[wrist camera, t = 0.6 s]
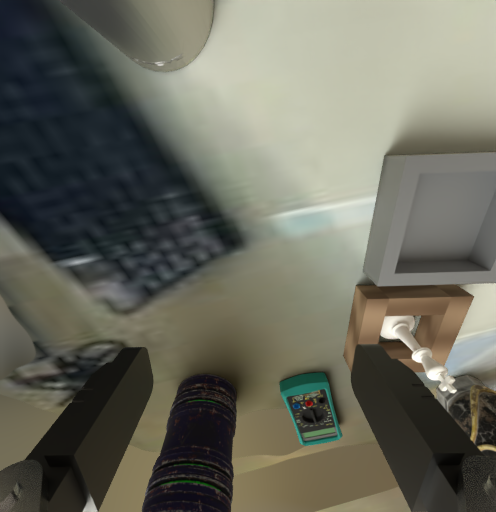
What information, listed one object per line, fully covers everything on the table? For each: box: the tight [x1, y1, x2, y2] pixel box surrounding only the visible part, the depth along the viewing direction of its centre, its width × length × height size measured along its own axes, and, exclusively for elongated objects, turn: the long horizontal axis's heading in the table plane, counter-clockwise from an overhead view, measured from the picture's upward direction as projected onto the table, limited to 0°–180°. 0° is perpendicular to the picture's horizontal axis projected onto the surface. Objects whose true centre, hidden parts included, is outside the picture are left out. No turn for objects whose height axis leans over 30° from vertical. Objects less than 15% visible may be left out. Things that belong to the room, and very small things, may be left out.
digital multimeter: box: [280, 372, 342, 446], centre depth 37 cm, size 7×15×3 cm, turn 18°
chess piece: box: [380, 316, 457, 393], centre depth 27 cm, size 5×5×10 cm
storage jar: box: [142, 374, 237, 512], centre depth 30 cm, size 10×10×15 cm
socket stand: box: [343, 284, 474, 372], centre depth 30 cm, size 12×12×3 cm
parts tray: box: [363, 151, 496, 286], centre depth 24 cm, size 13×13×4 cm
